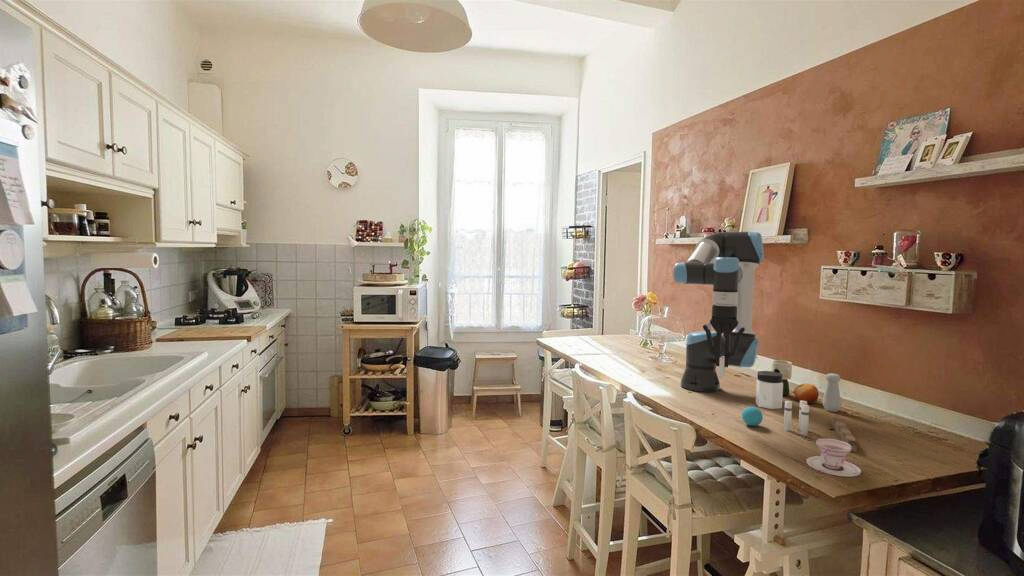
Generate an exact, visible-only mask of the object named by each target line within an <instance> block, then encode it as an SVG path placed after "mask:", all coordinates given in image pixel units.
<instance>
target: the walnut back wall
mask: <svg viewBox="0 0 1024 576" xmlns="http://www.w3.org/2000/svg"><path fill="white" fill-rule="evenodd" d="M831 426H832V428H833V429H834V430H835V432H836V434H837V435H838V437H839V439H840V441H843V442H846V443H848V444H849V445H851V447H852V448H851V451H850V452H855V453H857V451H858V448H857V447H858V441H857V439H856V438H855V436H854V434H852V432H851V431H850V429H849V428H848V426H847V425H846V423H845V422H844V420H843V419H842V417H841V416H839V415H831Z"/></svg>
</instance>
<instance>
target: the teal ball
mask: <svg viewBox="0 0 1024 576" xmlns="http://www.w3.org/2000/svg"><path fill="white" fill-rule="evenodd" d="M741 417H742V420H743V422H744V423H745V424H746V425H748V426H749V427H754V426H755V427H756V426H759V425H760V424H761V423H762V421H763V419H764V418H763V417H764V416H763V413H762V411H761V410H760V409H759V408H757V407H755V406H748V407H745V408H744V409H743V411H742V413H741Z"/></svg>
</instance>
